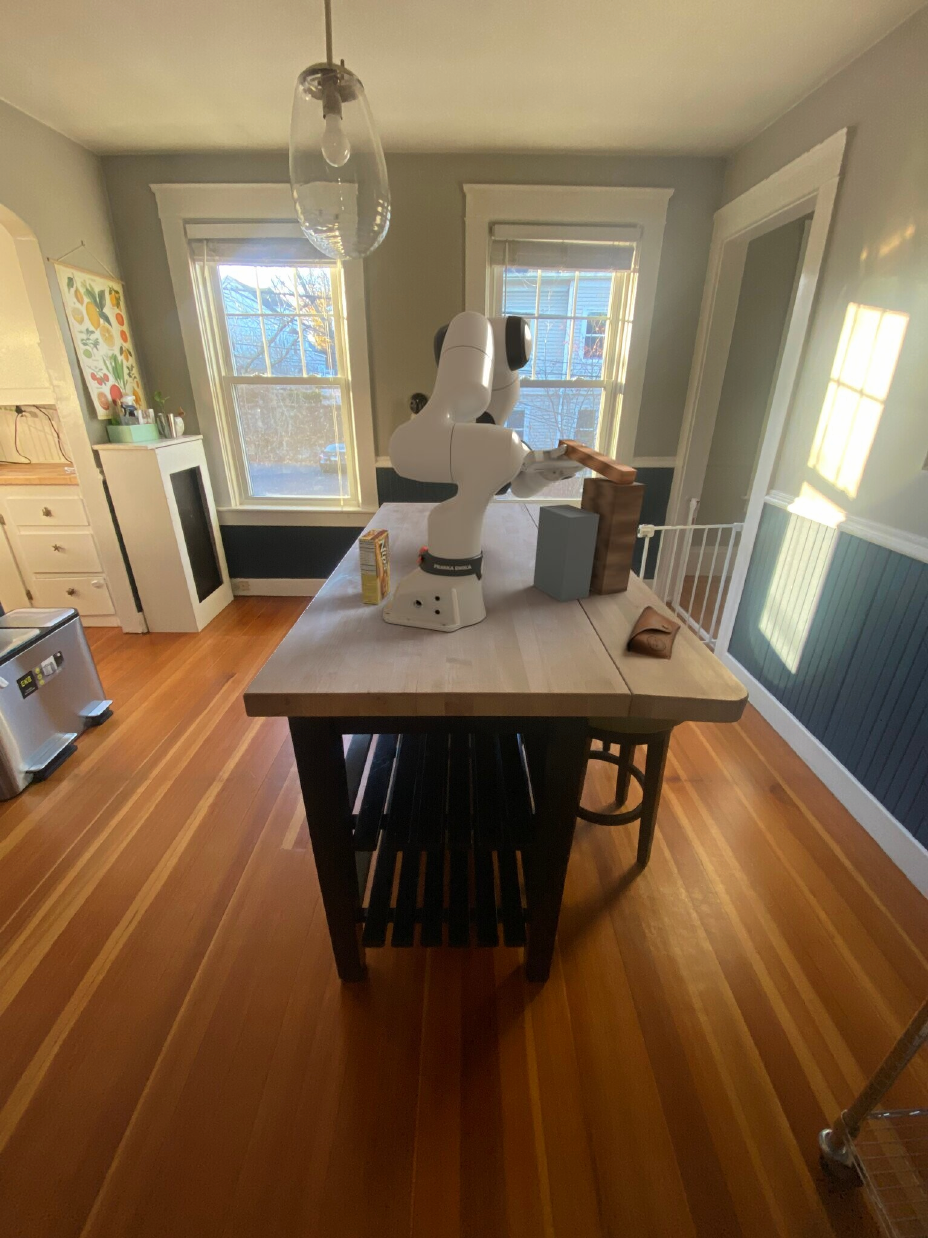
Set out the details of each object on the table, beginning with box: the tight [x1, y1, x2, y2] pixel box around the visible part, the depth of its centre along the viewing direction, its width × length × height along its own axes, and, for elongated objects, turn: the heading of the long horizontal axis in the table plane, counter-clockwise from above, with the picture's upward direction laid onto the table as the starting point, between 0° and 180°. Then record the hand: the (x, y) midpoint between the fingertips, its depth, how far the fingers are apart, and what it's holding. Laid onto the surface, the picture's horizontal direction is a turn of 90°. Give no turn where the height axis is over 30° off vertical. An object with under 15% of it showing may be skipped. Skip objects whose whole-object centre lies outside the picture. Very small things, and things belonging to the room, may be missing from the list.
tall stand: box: [579, 476, 646, 596], centre depth 119 cm, size 12×8×26 cm, turn 25°
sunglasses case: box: [626, 605, 681, 661], centre depth 97 cm, size 18×7×7 cm, turn 153°
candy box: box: [358, 528, 391, 605], centre depth 111 cm, size 9×4×15 cm, turn 170°
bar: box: [557, 438, 638, 484], centre depth 119 cm, size 26×4×3 cm, turn 25°
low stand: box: [533, 503, 599, 603], centre depth 115 cm, size 12×8×20 cm, turn 25°
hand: (574, 446), depth 124 cm, fingers closed on bar, 4 cm apart
